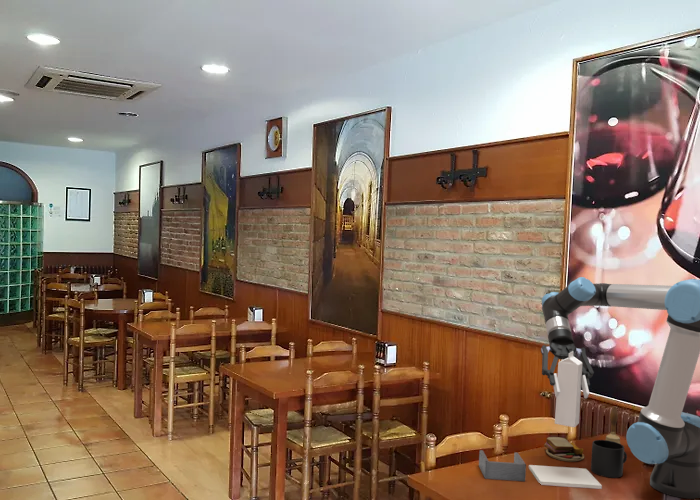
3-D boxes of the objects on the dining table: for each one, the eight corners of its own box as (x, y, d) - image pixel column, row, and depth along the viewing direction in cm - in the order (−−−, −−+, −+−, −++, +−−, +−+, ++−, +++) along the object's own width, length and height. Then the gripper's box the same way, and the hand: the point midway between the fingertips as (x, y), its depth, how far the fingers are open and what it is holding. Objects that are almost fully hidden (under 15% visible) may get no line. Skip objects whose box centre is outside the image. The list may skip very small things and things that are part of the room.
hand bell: (595, 450, 224) (598, 405, 224) (606, 446, 230) (608, 402, 229) (618, 457, 218) (621, 411, 218) (629, 452, 224) (631, 407, 223)
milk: (579, 423, 195) (583, 352, 195) (574, 427, 190) (579, 354, 190) (558, 419, 199) (563, 349, 198) (554, 423, 193) (558, 351, 193)
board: (585, 471, 201) (585, 468, 201) (601, 488, 187) (601, 485, 187) (528, 468, 202) (528, 464, 202) (540, 484, 188) (540, 481, 188)
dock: (516, 468, 201) (517, 452, 201) (525, 481, 190) (526, 464, 190) (478, 465, 201) (479, 450, 201) (484, 478, 190) (485, 462, 190)
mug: (636, 477, 199) (637, 448, 199) (603, 478, 196) (605, 449, 196) (615, 466, 208) (617, 439, 208) (584, 468, 205) (586, 440, 205)
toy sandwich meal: (554, 462, 209) (555, 448, 209) (538, 449, 223) (539, 435, 223) (590, 463, 210) (591, 449, 210) (572, 450, 224) (573, 436, 224)
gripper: (588, 342, 209) (603, 403, 193) (524, 339, 210) (534, 399, 194) (595, 329, 204) (611, 390, 188) (529, 325, 204) (540, 386, 189)
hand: (572, 394), depth 191 cm, fingers closed on milk, 8 cm apart
